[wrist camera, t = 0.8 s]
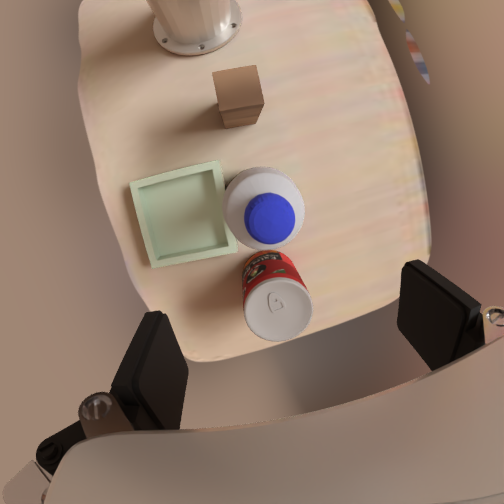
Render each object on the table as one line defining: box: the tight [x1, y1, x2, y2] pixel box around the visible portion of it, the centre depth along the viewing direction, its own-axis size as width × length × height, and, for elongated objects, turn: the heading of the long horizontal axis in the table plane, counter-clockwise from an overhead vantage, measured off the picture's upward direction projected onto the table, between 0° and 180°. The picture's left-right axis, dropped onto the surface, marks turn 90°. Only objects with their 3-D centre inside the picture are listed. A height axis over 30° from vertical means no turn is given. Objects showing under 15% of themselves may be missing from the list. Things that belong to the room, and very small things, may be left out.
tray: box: [129, 160, 238, 269], centre depth 35 cm, size 12×12×2 cm
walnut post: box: [212, 65, 264, 129], centre depth 27 cm, size 4×4×12 cm
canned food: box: [242, 250, 313, 342], centre depth 34 cm, size 8×8×11 cm
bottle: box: [222, 167, 305, 250], centre depth 26 cm, size 7×7×20 cm
